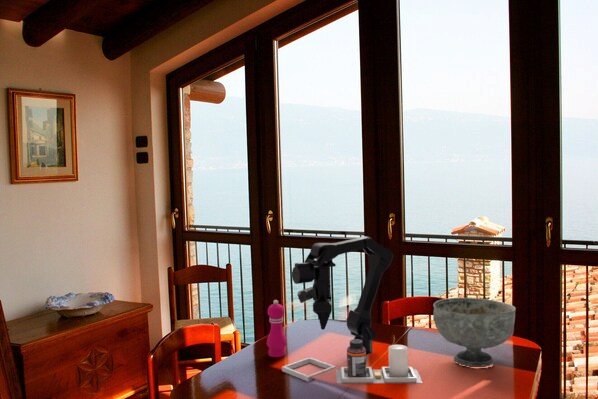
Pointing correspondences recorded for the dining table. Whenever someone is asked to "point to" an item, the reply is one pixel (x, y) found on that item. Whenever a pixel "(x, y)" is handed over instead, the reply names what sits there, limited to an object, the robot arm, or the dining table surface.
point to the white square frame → (289, 367)
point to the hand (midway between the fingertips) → (323, 325)
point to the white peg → (398, 361)
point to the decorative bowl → (474, 326)
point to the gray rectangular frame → (377, 376)
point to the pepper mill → (276, 331)
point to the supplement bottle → (356, 359)
